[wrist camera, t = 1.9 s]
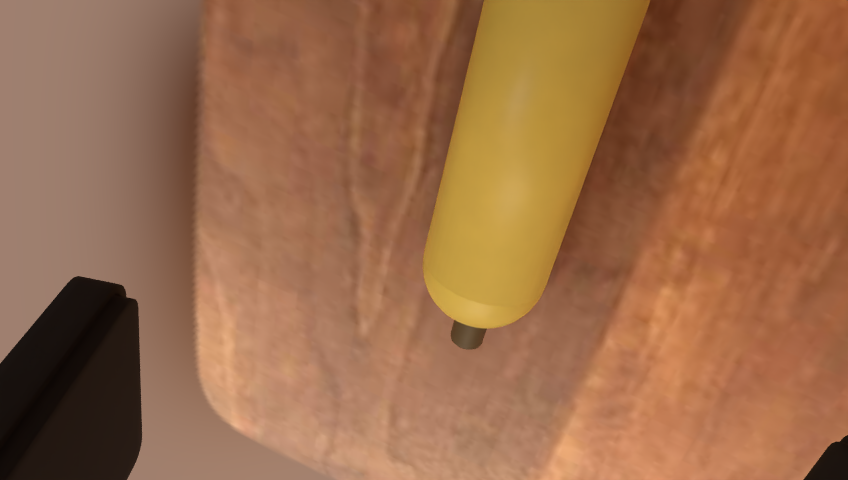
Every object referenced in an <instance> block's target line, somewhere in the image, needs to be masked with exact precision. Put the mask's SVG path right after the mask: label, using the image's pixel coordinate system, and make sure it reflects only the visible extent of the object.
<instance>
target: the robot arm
mask: <svg viewBox="0 0 848 480" xmlns="http://www.w3.org/2000/svg"><path fill="white" fill-rule="evenodd" d="M141 421H142V419H141V387H140V353H139V317H138V303H137V301H136V300H135V299H131V298H127V297H126V291H125V289H124V287H123V286H122V285H119V284H115V283H110V282H105V281H100V280H95V279H90V278H85V277H80V276H77V277H74V278H73V279H72V280H70V282H68V283H67V285H66V286H65V287H64V288H63V289H62V291H61V292H60V293H59V294H58V295H57V297H56V298H55V299H54V300H53V301H52V303H51V304H50V305H49V306H48V307H47V308H46V310H45V311H44V312H43V313H42V314H41V316H40V317H39V318H38V319H37V320H36V322H35V323H34V324H33V325H32V326H31V328H30V329H29V330H28V331H27V333H26V334H25V335H24V336H23V337H22V338H21V340H20V341H19V342H18V343H17V344H16V346H15V347H14V348H13V349H12V350H11V351H10V353H9V354H8V355H7V356H6V358H5V359H4V360H3V361H2V362H1V363H0V480H127V478H128V476H129V475H130V473H131V471H132V469H133V467H134V465H135V463H136V460H137V458H138V455H139V451H140V447H141V442H142V422H141ZM804 480H848V435H847V436H845V437H844V438H843V439H842V440H841V441H840V442H834V443H832V444H831V445H830V446H829V447H828V448H827V449H826V450H825V452H824V453H823V454H822V456H821V457H820V458H819V460H818V461H817V462H816V464H815V465H814V467H813V468H812V469H811V471H810V472H809V473H808V475H807V476H806V477H805V479H804Z"/></svg>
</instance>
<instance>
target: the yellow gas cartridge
mask: <svg viewBox="0 0 848 480" xmlns="http://www.w3.org/2000/svg"><path fill="white" fill-rule="evenodd" d="M649 3H650V0H484V3H483V7H482V11H481V15H480V20H479V24H478V28H477V32H476V36H475V41H474V45H473V49H472V53H471V57H470V62H469V66H468V70H467V74H466V78H465V83H464V87H463V91H462V95H461V99H460V104H459V108H458V112H457V116H456V120H455V125H454V129H453V133H452V137H451V141H450V145H449V150H448V154H447V158H446V162H445V166H444V171H443V175H442V179H441V183H440V187H439V192H438V196H437V200H436V204H435V208H434V213H433V217H432V221H431V225H430V229H429V234H428V238H427V242H426V246H425V250H424V256H423V274H424V280H425V283H426V286H427V289H428V291H429V294H430V296H431V297H432V299H433V300H434V302H435V303H436V304H437V306H438V307H439V308H440V309H441V310H442V311H443V312H444V313H445V314H446V315H448V316H449V317H450V318H452V319H454V324H453V327H452V331H451V339H452V341H453V342H454V343H455V344H456V345H457V346H459V347H461V348H464V349H476V348H478V347H479V346H480V345H481V344H482V341H483V338H484V335H485V332H486V329H487V328H497V327H501V326H505V325H508V324H510V323H513V322H515V321H516V320H518V319H520V318H521V317H523V316H524V315H525V314H527V313H528V312H529V311H530V310H531V309H532V308H533V306H534V305H535V304H536V303H537V302H538V301H539V299H540V297H541V295H542V293H543V291H544V289H545V287H546V284H547V281H548V279H549V276H550V273H551V270H552V268H553V265H554V262H555V260H556V257H557V254H558V251H559V249H560V246H561V243H562V240H563V238H564V235H565V232H566V230H567V227H568V224H569V221H570V219H571V216H572V213H573V210H574V208H575V205H576V202H577V200H578V197H579V194H580V191H581V189H582V186H583V183H584V180H585V178H586V175H587V172H588V170H589V167H590V164H591V161H592V159H593V156H594V153H595V150H596V148H597V145H598V142H599V140H600V137H601V134H602V131H603V129H604V126H605V123H606V120H607V118H608V115H609V112H610V109H611V107H612V104H613V101H614V99H615V96H616V93H617V90H618V88H619V85H620V82H621V79H622V77H623V74H624V71H625V69H626V66H627V63H628V60H629V58H630V55H631V52H632V49H633V47H634V44H635V41H636V39H637V36H638V33H639V30H640V28H641V25H642V22H643V19H644V17H645V14H646V11H647V9H648V6H649Z"/></svg>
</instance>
